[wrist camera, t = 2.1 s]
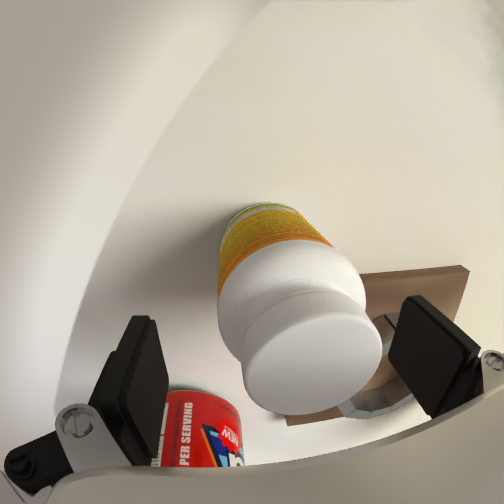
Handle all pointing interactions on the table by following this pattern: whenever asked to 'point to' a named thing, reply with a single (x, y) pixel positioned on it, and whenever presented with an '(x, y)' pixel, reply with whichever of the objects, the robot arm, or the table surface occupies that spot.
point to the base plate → (390, 300)
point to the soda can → (199, 432)
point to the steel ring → (387, 394)
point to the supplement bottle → (293, 312)
